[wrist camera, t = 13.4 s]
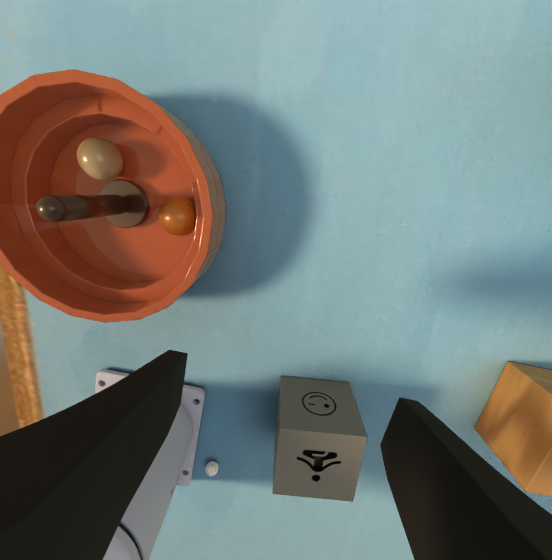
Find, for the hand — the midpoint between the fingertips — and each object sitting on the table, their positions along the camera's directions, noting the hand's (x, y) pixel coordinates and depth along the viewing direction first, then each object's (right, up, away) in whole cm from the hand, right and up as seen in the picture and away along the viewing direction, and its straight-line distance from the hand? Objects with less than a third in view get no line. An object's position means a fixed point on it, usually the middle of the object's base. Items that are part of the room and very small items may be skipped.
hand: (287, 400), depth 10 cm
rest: (+18, -5, +12) cm, 22 cm away
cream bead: (-11, +11, +7) cm, 17 cm away
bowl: (-9, +9, +9) cm, 15 cm away
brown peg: (-9, +9, +8) cm, 15 cm away
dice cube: (+2, -6, +13) cm, 14 cm away
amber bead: (-6, +8, +6) cm, 11 cm away
